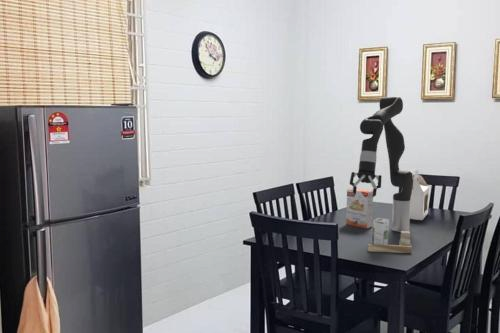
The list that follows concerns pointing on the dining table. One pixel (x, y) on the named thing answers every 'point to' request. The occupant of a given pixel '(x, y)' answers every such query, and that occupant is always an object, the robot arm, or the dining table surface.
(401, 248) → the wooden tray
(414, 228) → the dining table surface
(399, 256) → the dining table surface
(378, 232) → the syrup box
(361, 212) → the cracker box
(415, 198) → the gable box
